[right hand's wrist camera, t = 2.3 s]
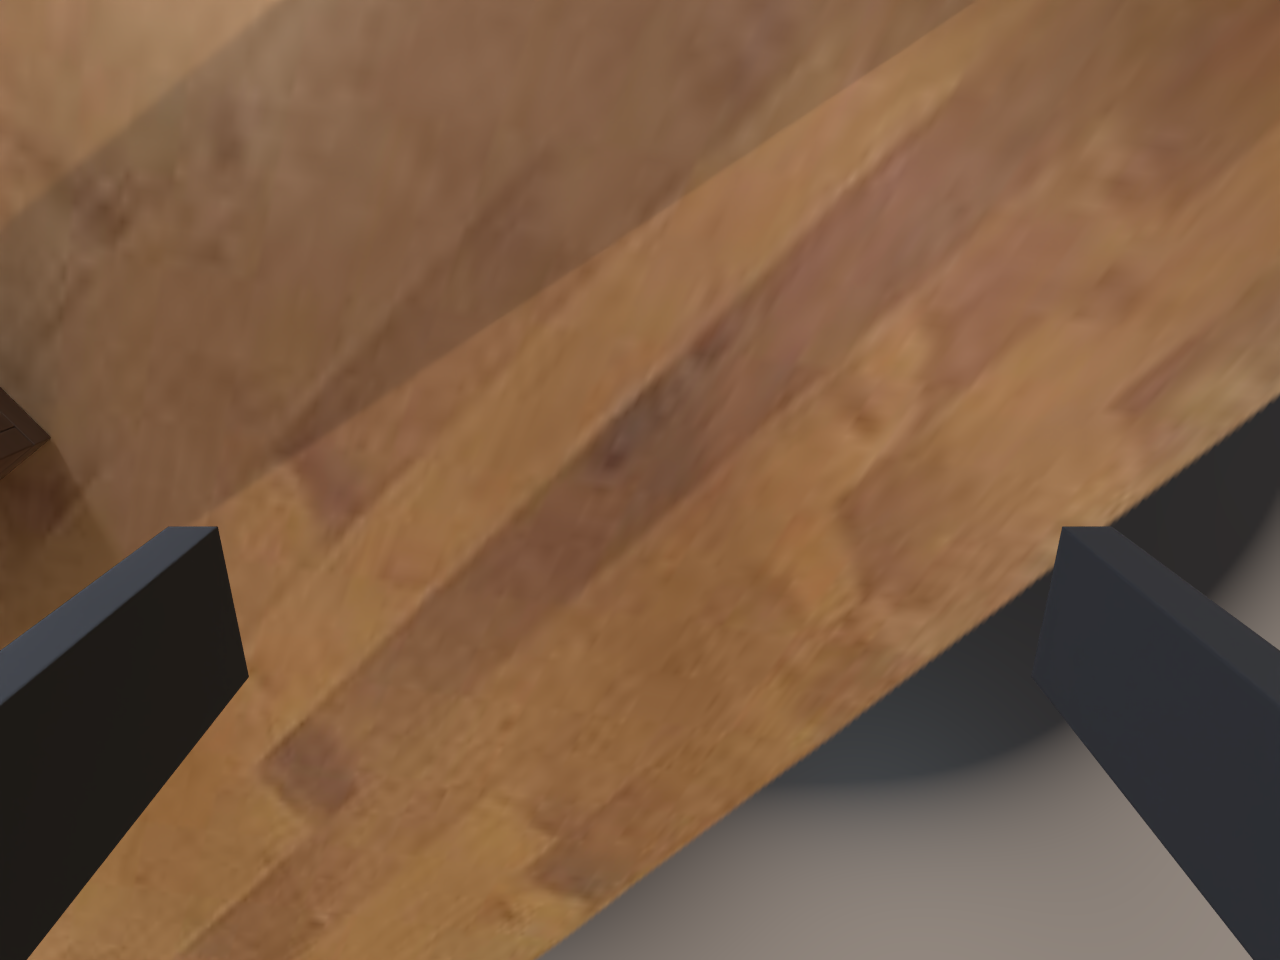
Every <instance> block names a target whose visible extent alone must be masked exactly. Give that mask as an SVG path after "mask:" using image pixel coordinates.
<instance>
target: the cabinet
mask: <svg viewBox="0 0 1280 960" xmlns="http://www.w3.org/2000/svg"><path fill="white" fill-rule="evenodd" d="M49 439H50V436H49V435H48V434H47V433H46V432H45V431H44V430H43V429H42V428H41V427H40V426H39V425H38V424H36V423H35V422H34V421H33V420H32V419H31V418H30V417H29V416H28V415H27V414H26V413H25V412H24V411H23V410H22V409H21V408H20V407H19V406H18V405H17V404H16V403H15V402H14V401H13V400H12V399H11V398H10V397H9V396H8V395H7V394H6V393H5V392H4V391H3V390H2V389H1V388H0V480H1V479H2V478H3V477H4V476H5V475H7V474H8V473H9V472H10V471H12V470H13V469H14V468H15V467H16V466H18V465H19V464H20V463H21V462H22V461H24V460H25V459H26V458H27V457H28V456H30V455H31V454H32V453H33V452H35V451H36V450H37V449H38V448H39V447H41V446H42V445H43V444H44V443H45V442H47V441H48V440H49Z"/></svg>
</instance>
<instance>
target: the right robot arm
mask: <svg viewBox="0 0 1280 960" xmlns="http://www.w3.org/2000/svg"><path fill="white" fill-rule="evenodd" d="M248 677H249V675H248V670H247V666H246V661H245V656H244V651H243V646H242V642H241V637H240V632H239V627H238V622H237V617H236V613H235V608H234V603H233V598H232V593H231V589H230V584H229V579H228V574H227V569H226V564H225V560H224V555H223V550H222V545H221V540H220V536H219V531H218V527H167V528H166V529H164V530H163V531H162V532H160V533H159V534H158V535H156V536H155V537H154V538H152V539H151V540H150V541H148V542H147V543H145V544H144V545H143V546H141V547H140V548H139V549H137V550H136V551H135V552H133V553H132V554H131V555H129V556H128V557H127V558H125V559H124V560H122V561H121V562H120V563H118V564H117V565H116V566H114V567H113V568H112V569H110V570H109V571H108V572H106V573H105V574H103V575H102V576H101V577H99V578H98V579H97V580H95V581H94V582H93V583H91V584H90V585H89V586H87V587H86V588H85V589H83V590H82V591H80V592H79V593H78V594H76V595H75V596H74V597H72V598H71V599H70V600H68V601H67V602H66V603H64V604H63V605H61V606H60V607H59V608H57V609H56V610H55V611H53V612H52V613H51V614H49V615H48V616H47V617H45V618H44V619H43V620H41V621H40V622H38V623H37V624H36V625H34V626H33V627H32V628H30V629H29V630H28V631H26V632H25V633H24V634H22V635H21V636H19V637H18V638H17V639H15V640H14V641H13V642H11V643H10V644H9V645H7V646H6V647H5V648H3V649H2V650H0V960H27V959H28V957H29V956H30V955H31V954H32V952H33V951H34V950H35V948H36V947H37V946H38V945H39V943H40V942H41V941H42V940H43V938H44V937H45V936H46V934H47V933H48V932H49V931H50V929H51V928H52V927H53V926H54V924H55V923H56V922H57V920H58V919H59V918H60V917H61V915H62V914H63V913H64V912H65V910H66V909H67V908H68V906H69V905H70V904H71V903H72V901H73V900H74V899H75V898H76V896H77V895H78V894H79V892H80V891H81V890H82V889H83V887H84V886H85V885H86V883H87V882H88V881H89V880H90V878H91V877H92V876H93V875H94V873H95V872H96V871H97V869H98V868H99V867H100V866H101V864H102V863H103V862H104V861H105V859H106V858H107V857H108V855H109V854H110V853H111V852H112V850H113V849H114V848H115V847H116V845H117V844H118V843H119V841H120V840H121V839H122V838H123V836H124V835H125V834H126V833H127V831H128V830H129V829H130V827H131V826H132V825H133V824H134V822H135V821H136V820H137V819H138V817H139V816H140V815H141V813H142V812H143V811H144V810H145V808H146V807H147V806H148V805H149V803H150V802H151V801H152V799H153V798H154V797H155V796H156V794H157V793H158V792H159V791H160V789H161V788H162V787H163V785H164V784H165V783H166V782H167V780H168V779H169V778H170V777H171V775H172V774H173V773H174V771H175V770H176V769H177V768H178V766H179V765H180V764H181V763H182V761H183V760H184V759H185V757H186V756H187V755H188V754H189V752H190V751H191V750H192V748H193V747H194V746H195V745H196V743H197V742H198V741H199V740H200V738H201V737H202V736H203V734H204V733H205V732H206V731H207V729H208V728H209V727H210V726H211V724H212V723H213V722H214V720H215V719H216V718H217V717H218V715H219V714H220V713H221V712H222V710H223V709H224V708H225V706H226V705H227V704H228V703H229V701H230V700H231V699H232V698H233V696H234V695H235V694H236V692H237V691H238V690H239V689H240V687H241V686H242V685H243V684H244V682H245V681H246V680H247V678H248ZM1031 677H1032V678H1033V680H1034V681H1035V682H1036V684H1037V685H1038V686H1039V687H1040V689H1041V690H1042V691H1043V692H1044V694H1045V695H1046V696H1047V697H1048V699H1049V700H1050V701H1051V703H1052V704H1053V705H1054V706H1055V708H1056V709H1057V710H1058V712H1059V713H1060V714H1061V715H1062V717H1063V718H1064V719H1065V720H1066V722H1067V723H1068V724H1069V726H1070V727H1071V728H1072V729H1073V731H1074V732H1075V733H1076V734H1077V736H1078V737H1079V738H1080V740H1081V741H1082V742H1083V743H1084V745H1085V746H1086V747H1087V748H1088V750H1089V751H1090V752H1091V753H1092V755H1093V756H1094V757H1095V759H1096V760H1097V761H1098V763H1099V764H1100V765H1101V766H1102V768H1103V769H1104V770H1105V771H1106V773H1107V774H1108V775H1109V777H1110V778H1111V779H1112V780H1113V782H1114V783H1115V784H1116V785H1117V787H1118V788H1119V789H1120V791H1121V792H1122V793H1123V794H1124V796H1125V797H1126V798H1127V799H1128V801H1129V802H1130V803H1131V805H1132V806H1133V807H1134V808H1135V810H1136V811H1137V812H1138V813H1139V815H1140V816H1141V817H1142V819H1143V820H1144V821H1145V822H1146V824H1147V825H1148V826H1149V827H1150V829H1151V830H1152V831H1153V833H1154V834H1155V835H1156V836H1157V838H1158V839H1159V840H1160V841H1161V843H1162V844H1163V845H1164V847H1165V848H1166V849H1167V850H1168V852H1169V853H1170V854H1171V855H1172V857H1173V858H1174V859H1175V861H1176V862H1177V863H1178V864H1179V866H1180V867H1181V868H1182V869H1183V871H1184V872H1185V873H1186V875H1187V876H1188V877H1189V878H1190V880H1191V881H1192V882H1193V883H1194V885H1195V886H1196V887H1197V889H1198V890H1199V891H1200V892H1201V894H1202V895H1203V896H1204V898H1205V899H1206V900H1207V901H1208V902H1209V904H1210V905H1211V906H1212V908H1213V909H1214V910H1215V912H1216V913H1217V914H1218V915H1219V916H1220V918H1221V919H1222V920H1223V922H1224V923H1225V924H1226V925H1227V927H1228V928H1229V929H1230V931H1231V932H1232V933H1233V934H1234V936H1235V937H1236V938H1237V940H1238V941H1239V942H1240V943H1241V945H1242V946H1243V947H1244V948H1245V950H1246V951H1247V952H1248V954H1249V955H1250V956H1251V957H1252V959H1253V960H1280V651H1279V650H1278V649H1277V648H1275V647H1274V646H1273V645H1271V644H1270V643H1269V642H1267V641H1266V640H1265V639H1263V638H1262V637H1260V636H1259V635H1258V634H1256V633H1255V632H1254V631H1252V630H1251V629H1250V628H1248V627H1247V626H1246V625H1244V624H1243V623H1242V622H1240V621H1239V620H1237V619H1236V618H1235V617H1233V616H1232V615H1231V614H1229V613H1228V612H1227V611H1225V610H1224V609H1223V608H1221V607H1220V606H1218V605H1217V604H1216V603H1214V602H1213V601H1212V600H1210V599H1209V598H1208V597H1206V596H1205V595H1204V594H1202V593H1201V592H1200V591H1198V590H1197V589H1195V588H1194V587H1193V586H1191V585H1190V584H1189V583H1187V582H1186V581H1185V580H1183V579H1182V578H1180V577H1179V576H1178V575H1176V574H1175V573H1174V572H1172V571H1171V570H1170V569H1168V568H1167V567H1166V566H1164V565H1163V564H1161V563H1160V562H1159V561H1158V560H1156V559H1155V558H1153V557H1152V556H1151V555H1149V554H1148V553H1147V552H1145V551H1144V550H1143V549H1141V548H1140V547H1139V546H1137V545H1136V544H1135V543H1133V542H1132V541H1130V540H1129V539H1128V538H1126V537H1125V536H1124V535H1122V534H1121V533H1120V532H1118V531H1117V530H1116V529H1114V528H1113V527H1062V531H1061V536H1060V540H1059V545H1058V550H1057V555H1056V560H1055V564H1054V569H1053V574H1052V579H1051V584H1050V589H1049V593H1048V598H1047V603H1046V608H1045V613H1044V618H1043V622H1042V627H1041V632H1040V637H1039V642H1038V646H1037V651H1036V656H1035V661H1034V666H1033V670H1032V675H1031Z"/></svg>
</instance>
